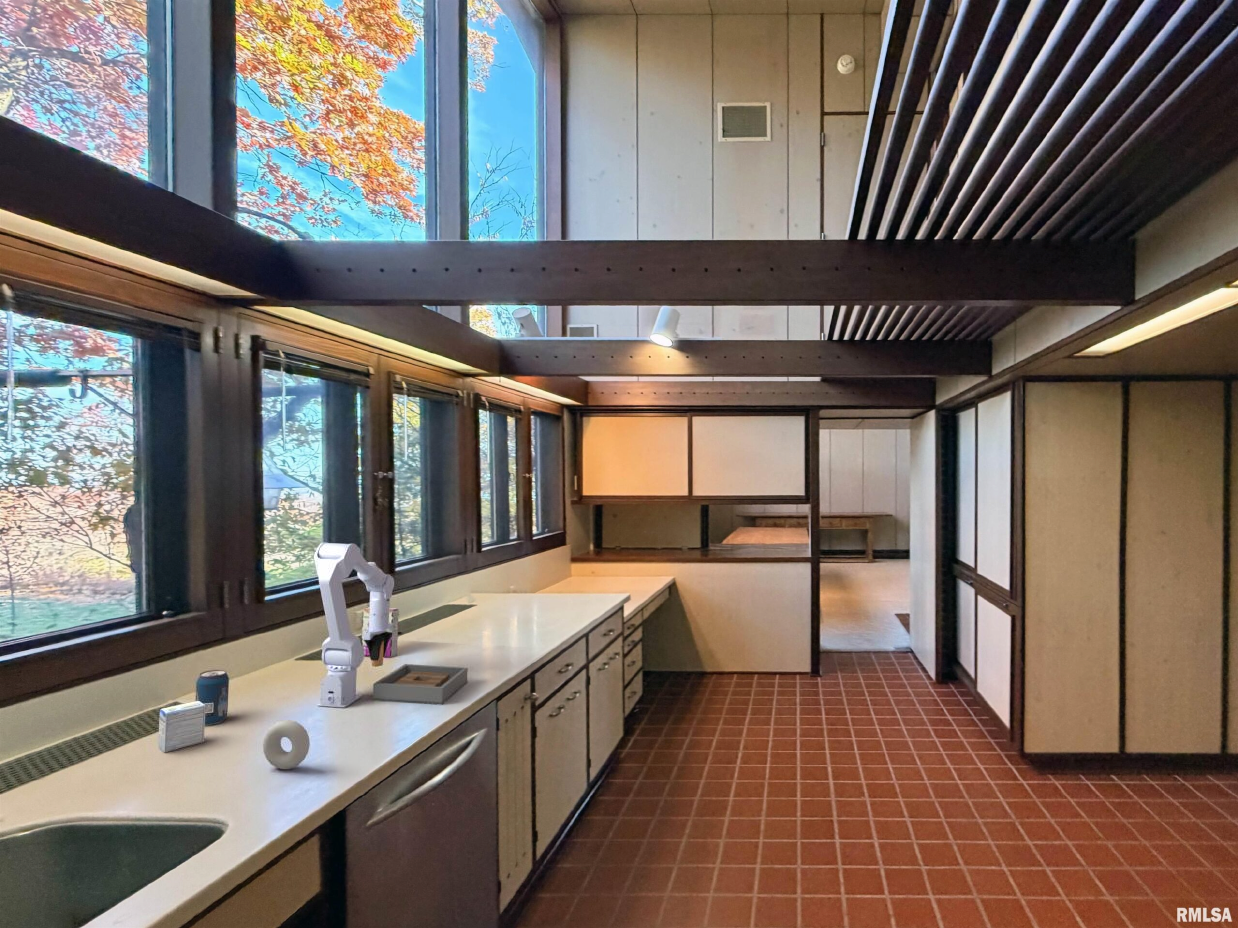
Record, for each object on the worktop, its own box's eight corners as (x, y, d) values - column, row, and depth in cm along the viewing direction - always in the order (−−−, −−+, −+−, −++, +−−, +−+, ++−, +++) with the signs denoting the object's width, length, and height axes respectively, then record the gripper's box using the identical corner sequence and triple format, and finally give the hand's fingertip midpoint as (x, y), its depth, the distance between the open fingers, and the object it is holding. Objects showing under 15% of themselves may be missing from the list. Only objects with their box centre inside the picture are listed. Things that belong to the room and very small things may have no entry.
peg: (379, 666, 193) (380, 643, 193) (369, 666, 194) (370, 642, 194) (384, 663, 196) (385, 640, 197) (374, 663, 197) (375, 640, 197)
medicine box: (197, 737, 150) (199, 700, 150) (204, 742, 147) (206, 704, 147) (157, 747, 144) (159, 708, 144) (163, 753, 141) (165, 713, 141)
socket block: (433, 696, 180) (434, 686, 180) (393, 694, 182) (393, 683, 182) (449, 683, 192) (450, 673, 192) (411, 681, 194) (411, 671, 194)
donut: (312, 766, 136) (314, 719, 137) (302, 774, 133) (304, 725, 133) (269, 763, 138) (271, 715, 138) (257, 770, 134) (260, 721, 134)
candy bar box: (360, 656, 221) (361, 608, 222) (367, 653, 226) (369, 606, 227) (391, 658, 220) (393, 610, 221) (397, 654, 225) (399, 607, 226)
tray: (441, 704, 176) (442, 688, 176) (372, 700, 178) (373, 683, 178) (467, 682, 196) (467, 667, 196) (404, 678, 198) (405, 664, 198)
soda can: (198, 717, 162) (200, 670, 162) (229, 715, 164) (232, 667, 165) (190, 727, 155) (193, 677, 156) (223, 724, 158) (226, 675, 158)
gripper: (380, 618, 188) (378, 665, 187) (402, 609, 202) (400, 653, 202) (357, 617, 189) (355, 664, 188) (381, 608, 203) (379, 651, 203)
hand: (377, 658), depth 195 cm, fingers closed on peg, 3 cm apart
